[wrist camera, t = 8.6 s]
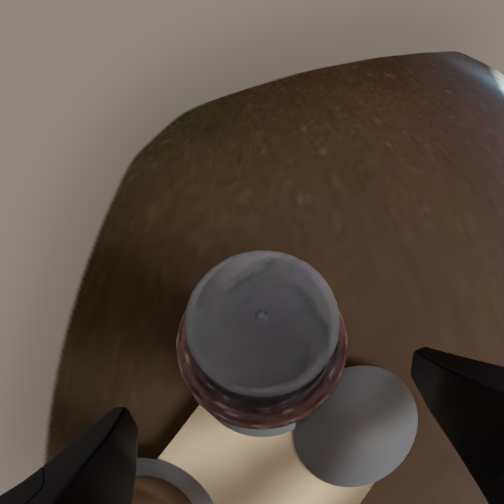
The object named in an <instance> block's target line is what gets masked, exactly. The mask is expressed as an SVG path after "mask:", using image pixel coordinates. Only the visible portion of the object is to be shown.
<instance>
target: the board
mask: <svg viewBox="0 0 504 504" xmlns="http://www.w3.org/2000/svg"><path fill="white" fill-rule="evenodd" d="M417 425H418V414H417V408H416V404H415V401H414V398H413V396H412V394H411V392H410V390H409V389H408V387H407V386H406V385H405V384H404V382H403V381H402V380H401V379H399V378H398V377H397V376H396V375H394V374H393V373H391V372H389V371H387V370H385V369H382V368H379V367H374V366H365V365H360V366H352V367H347V368H344V371H343V374H342V375H341V379H340V381H339V383H338V385H337V386H336V388H335V389H334V391H333V393H332V394H331V396H330V397H329V398H328V399H327V400H326V401H325V403H323V404H322V405H321V406H320V407H319V408H318V409H317V410H316V411H314V412H313V413H311V414H310V415H308V416H307V417H305V418H303V419H301V420H300V421H297V422H295V423H293V424H290V425H287V426H283V427H279V428H273V429H260V430H257V429H248V428H243V427H238V426H235V425H231V424H229V423H227V422H225V421H223V420H220V419H218V418H217V417H215V416H214V415H212V414H210V413H209V412H208V411H207V410H206V409H204V408H203V407H202V406H201V405H199V406H198V407H197V409H196V410H195V411H194V412H193V414H192V415H191V416H190V418H189V419H188V420H187V422H186V423H185V424H184V425H183V427H182V428H181V429H180V431H179V432H178V433H177V434H176V436H175V437H174V438H173V440H172V441H171V442H170V443H169V445H168V446H167V447H166V448H165V450H164V451H163V452H162V453H161V455H160V456H159V457H158V458H157V459H151V458H137V468H136V479H135V486H134V493H133V500H132V504H360V503H361V501H362V500H363V498H364V497H365V496H366V494H367V493H368V491H369V490H370V488H371V487H372V485H373V484H374V482H376V481H378V480H380V479H382V478H384V477H385V476H387V475H388V474H390V473H391V472H392V471H393V470H395V469H396V468H397V467H398V466H399V465H400V464H401V462H402V461H403V460H404V459H405V457H406V456H407V454H408V453H409V451H410V449H411V447H412V445H413V442H414V439H415V436H416V432H417Z"/></svg>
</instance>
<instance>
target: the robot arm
mask: <svg viewBox="0 0 504 504" xmlns="http://www.w3.org/2000/svg"><path fill="white" fill-rule="evenodd" d="M411 376H412V378H413V380H414V382H415V384H416V386H417V388H418V390H419V391H420V393H421V395H422V397H423V399H424V401H425V403H426V405H427V407H428V408H429V410H430V412H431V413H432V415H433V416H434V418H435V419H436V421H437V422H438V424H439V425H440V427H441V428H442V430H443V431H444V433H445V434H446V436H447V437H448V439H449V440H450V442H451V443H452V445H453V446H454V448H455V450H456V451H457V453H458V454H459V456H460V457H461V459H462V460H463V462H464V464H465V465H466V467H467V468H468V470H469V472H470V473H471V475H472V476H473V478H474V480H475V481H476V483H477V485H478V486H479V488H480V490H481V491H482V493H483V495H484V496H485V498H486V500H487V502H488V503H489V504H504V367H502V366H498V365H494V364H489V363H485V362H481V361H477V360H473V359H469V358H465V357H461V356H458V355H454V354H450V353H446V352H442V351H439V350H435V349H431V348H428V347H423V348H420V349H418V350H416V351H414V353H413V359H412V366H411ZM137 441H138V429H137V426H136V424H135V422H134V420H133V418H132V416H131V414H130V412H129V410H128V409H127V408H125V407H118V408H113V409H112V410H111V411H110V412H108V413H107V414H106V415H105V416H104V417H102V418H101V419H100V420H99V421H98V422H96V423H95V424H94V425H93V426H92V427H90V428H89V429H88V430H87V431H86V432H84V433H83V434H82V435H81V436H80V437H78V438H77V439H76V440H75V441H74V442H72V443H71V444H70V445H69V446H67V447H66V448H65V449H64V450H63V451H61V452H60V453H59V454H58V455H56V456H55V457H54V458H53V459H51V460H50V461H49V462H48V463H46V464H45V465H44V466H43V467H41V468H40V469H39V470H38V471H37V472H35V473H34V474H33V475H31V476H30V477H28V478H27V479H26V480H25V481H23V482H22V483H20V484H19V485H17V486H15V487H14V488H12V489H11V490H9V491H7V492H6V493H4V494H2V495H1V496H0V504H132V500H133V493H134V486H135V479H136V468H137Z"/></svg>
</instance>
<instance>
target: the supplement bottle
mask: <svg viewBox="0 0 504 504" xmlns="http://www.w3.org/2000/svg"><path fill="white" fill-rule="evenodd" d="M347 348H348V341H347V333H346V329H345V324H344V321H343V318H342V316H341V313H340V312H339V309H338V305H337V302H336V300H335V297H334V295H333V292H332V290H331V288H330V287H329V285H328V283H327V282H326V280H325V279H324V278H323V277H322V276H321V275H320V273H319V272H317V271H316V270H315V269H314V268H313V267H312V266H311V265H309V264H308V263H306V262H305V261H302V260H300V259H298V258H296V257H294V256H292V255H289V254H286V253H283V252H278V251H269V250H256V251H249V252H244V253H240V254H237V255H234V256H231V257H229V258H227V259H225V260H223V261H221V262H220V263H218V264H217V265H215V266H214V267H213V268H212V269H210V270H209V271H208V272H207V273H206V274H205V275H204V276H203V277H202V278H201V280H200V281H199V282H198V283H197V285H196V287H195V288H194V290H193V291H192V293H191V296H190V298H189V301H188V304H187V307H186V310H185V312H184V314H183V317H182V319H181V322H180V325H179V328H178V334H177V339H176V355H177V361H178V366H179V371H180V373H181V376H182V379H183V381H184V383H185V385H186V387H187V389H188V390H189V392H190V393H191V395H192V396H193V397H194V399H195V400H196V402H197V403H198V404H200V405H201V406H202V407H203V408H204V409H206V410H207V411H208V412H209V413H210V414H212V415H214V416H215V417H217V418H218V419H220V420H223V421H225V422H227V423H229V424H231V425H235V426H238V427H243V428H248V429H257V430H260V429H273V428H279V427H283V426H287V425H290V424H293V423H295V422H297V421H300V420H301V419H303V418H305V417H307V416H308V415H310V414H311V413H313V412H314V411H316V410H317V409H318V408H319V407H320V406H321V405H322V404H323V403H325V401H326V400H327V399H328V398H329V397H330V396H331V394H332V393H333V391H334V389H335V388H336V386H337V385H338V383H339V381H340V379H341V375H342V374H343V371H344V367H345V363H346V358H347Z"/></svg>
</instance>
